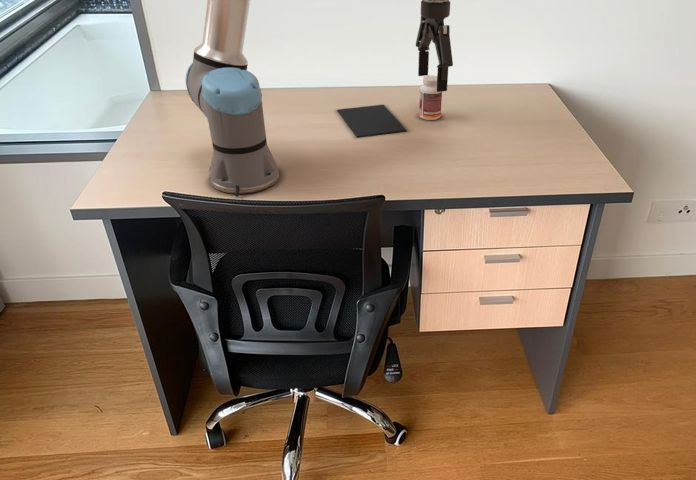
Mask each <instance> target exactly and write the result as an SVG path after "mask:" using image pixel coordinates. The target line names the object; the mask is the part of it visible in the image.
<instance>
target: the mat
mask: <svg viewBox="0 0 696 480" xmlns="http://www.w3.org/2000/svg"><path fill="white" fill-rule="evenodd" d="M337 112H338V114H339V116H340V117H341V118H342V119H343V120H344V122H345V123H346V125H347V126H348V127H349V129H350V130H351V132H352V133H353V134H354V136H355V137H356V138H363V137H364V138H365V137H372V136H380V135H387V134H395V133H405V132H407V131H408V130H407V129H406V127H404V126H403V124H402V123H401V122H400V121H399V120H398V119H397V118H396V116H394V114H393V113H392V112H391V110H389V109H388V108H387V107H386V106H385V105H384V104H377V105H376V104H375V105H366V106H359V107H358V106H357V107H349V108H338V109H337Z"/></svg>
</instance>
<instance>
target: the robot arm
mask: <svg viewBox="0 0 696 480" xmlns="http://www.w3.org/2000/svg"><path fill="white" fill-rule="evenodd" d="M250 4H251V0H207V3H206V10H205V17H204V19H205V20H204V27H203V36H202V43H200V44H199V45H197V46H196V47H195V48H194V50H193V58H192V62H191V63H190V65H189V66H188V68H187V70H186V73H185V87H186V91H187V93H188V96H189V97H190V99H191V101H192V102H193V104H195V106H196V107H197V108H198V109H199V110H200V111H201V113H202V114H203V115H204V116H205V118H206V119H207V123H208V127H209V133H210V138H211V144H212V149H213V150H212V156H211V162H210V166H209V171H208V172H209V180H210V184H211V186H212V187H213V188H214V189H216V190H217V191H219V192H222V193H226V194H232V195H233V194H234V196H235V197H239V195H243V194H253V193H257V192H261V191H264V190H267V189H269V188H270V187H272V186H273V185H275V184H276V183H277V182H278V180H279V177H280V172H279V167H278V165H277V162H276V160H275V157H274V156H273V154H272V152H271V150H270V147H269V146H268V142H267V141H268V140H267V132H266V125H265V116H264V108H263V101H262V100H263V93H262V89H261V86H260V82H259V79H258V78H257V76H256V75H255V74H254V73H252V72H250V71H249V70H248V64H249V61H248V60H247V58H246V56H245V54H244V53H243V51H244V45H245V38H246V30H247V26H248V25H247V24H248V19H249V18H248V17H249V12H250V11H249V10H250ZM450 15H451V1H450V0H421V1H420V23H419V28H418V31H417V35H416V41H415V47H416V48H417V50H418V70H417V71H418V73H417V76H418V77H424V76H429V63H430V61H429V60H430V50H431V49H430V45H431V42H432V43H433V44H434V48H435V53H436V56H437V61H438V64H437V66H436V68H437V74H436V76H437V92H442V93H443V92H447V91H448V81H449V68H450V67H453V66H454V61H453V55H452V54H453V53H452V44H451V36H450V32H451V31H450V29H451V28H450V27H451V26H450V25H449V24H445V21H444V20H445V19H446V18H449V16H450Z"/></svg>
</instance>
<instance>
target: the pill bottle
mask: <svg viewBox="0 0 696 480" xmlns="http://www.w3.org/2000/svg"><path fill="white" fill-rule="evenodd" d="M442 99H443V91H442V92H437V75H434V74H433V75H431V74H430V75H429V74H428V75H426V76H422V84H421V86H420V88H419V104H418V105H419V107H418V109H419V111H418V115H419V117H420V118H421V119H422V120H426V121H436V120H438V119H440V118H441V116H442Z"/></svg>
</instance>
